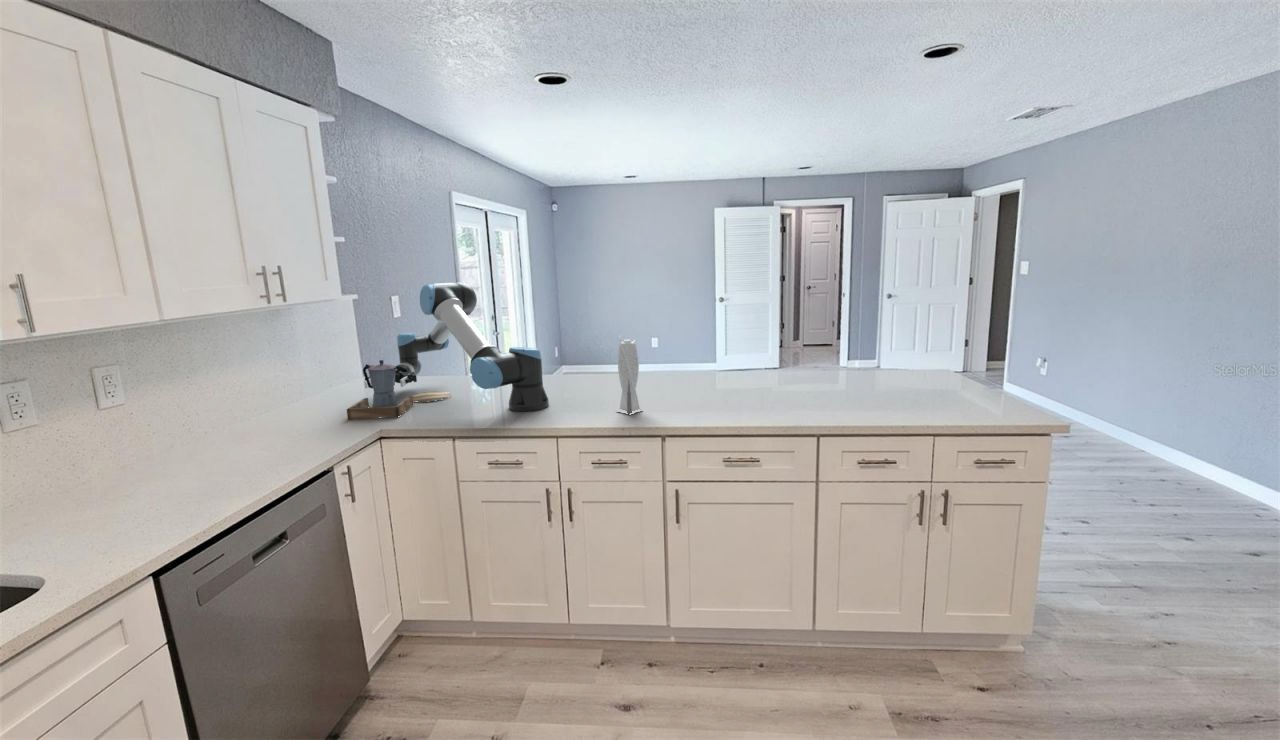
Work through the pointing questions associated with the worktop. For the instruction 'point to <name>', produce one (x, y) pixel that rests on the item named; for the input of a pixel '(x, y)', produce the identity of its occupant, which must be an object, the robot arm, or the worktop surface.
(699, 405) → the worktop surface
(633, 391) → the skyscraper
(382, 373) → the moka pot
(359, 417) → the frame
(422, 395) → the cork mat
